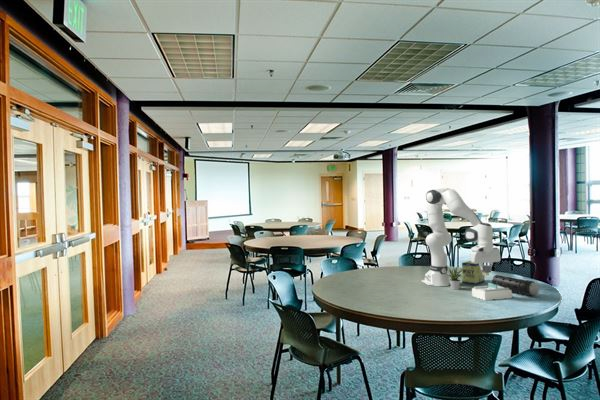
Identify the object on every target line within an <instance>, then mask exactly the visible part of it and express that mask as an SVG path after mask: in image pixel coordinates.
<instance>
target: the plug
mask: <svg viewBox="0 0 600 400" xmlns="http://www.w3.org/2000/svg"><path fill="white" fill-rule="evenodd" d="M482 266H483V267H484V270H481V272H483V275H484V277H487V276H490V273H492V269H491V268H492V267H491V266H489V264H484V265H482Z"/></svg>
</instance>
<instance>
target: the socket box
mask: <svg viewBox="0 0 600 400" xmlns="http://www.w3.org/2000/svg"><path fill="white" fill-rule="evenodd" d="M497 286H499V285H497ZM512 293H513V292H512V290H509V288H499V289H491V288H488V285H476V286H474V287H472V288H471V296H472V297H474V298H477V299H479V298H480V299H479V300H482V299H483V301H494V300H493V299H495V300H504V299H505V298H506V299H513V297H512V296H513V294H512Z"/></svg>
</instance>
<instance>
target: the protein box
mask: <svg viewBox="0 0 600 400" xmlns="http://www.w3.org/2000/svg"><path fill="white" fill-rule="evenodd" d="M483 265H485V263H483ZM461 269H465V270H462V272H461V275H462V276H461V279H462V282H461V283H462V284H466V285H473V286H478V285H480V284H483V283H485V275H483V272H481V268H480V265H479V263H472V262H471V260H467V261H464V262H461ZM463 276H464V277H463Z"/></svg>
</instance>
